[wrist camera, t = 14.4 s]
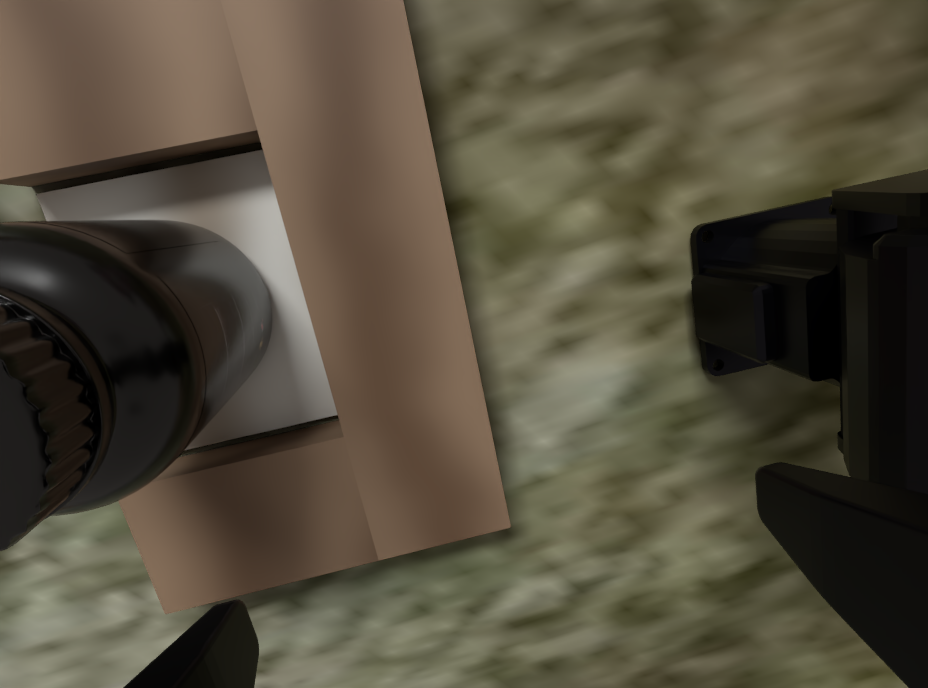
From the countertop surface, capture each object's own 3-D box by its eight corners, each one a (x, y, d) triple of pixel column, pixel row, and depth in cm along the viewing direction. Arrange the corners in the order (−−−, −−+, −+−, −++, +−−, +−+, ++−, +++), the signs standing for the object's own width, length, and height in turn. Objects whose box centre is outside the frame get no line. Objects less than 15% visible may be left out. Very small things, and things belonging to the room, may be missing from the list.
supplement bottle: (78, 382, 20) (-383, 611, 8) (93, 200, 18) (-437, 162, 7) (265, 412, 21) (95, 652, 9) (291, 243, 19) (132, 273, 8)
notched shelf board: (386, -60, 18) (384, -94, 16) (501, 502, 23) (511, 527, 21) (-38, 13, 17) (-95, -14, 15) (185, 580, 22) (165, 614, 20)
